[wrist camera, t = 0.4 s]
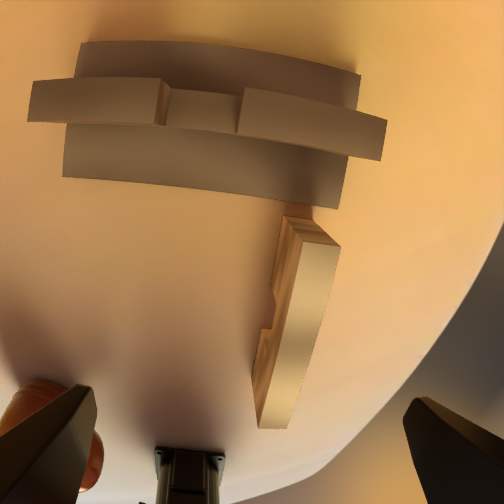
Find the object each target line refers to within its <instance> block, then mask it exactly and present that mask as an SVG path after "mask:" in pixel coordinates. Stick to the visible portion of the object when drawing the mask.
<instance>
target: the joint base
mask: <svg viewBox="0 0 504 504" xmlns="http://www.w3.org/2000/svg"><path fill="white" fill-rule="evenodd" d="M360 80H361V75H358V74H355V73H352V72H348V71H345V70H341V69H338V68H334V67H331V66H327V65H323V64H319V63H315V62H311V61H306V60H302V59H298V58H293V57H288V56H283V55H278V54H273V53H268V52H262V51H256V50H249V49H243V48H236V47H228V46H220V45H210V44H200V43H187V42H169V41H105V42H88V43H81V46H80V51H79V55H78V60H77V64H76V69H75V75H74V78H68V79H53V80H42V81H33V85H32V91H31V98H30V104H29V112H28V120H27V122H53V123H67V127H66V136H65V147H64V159H63V175H62V177H73V178H87V179H101V180H113V181H125V182H136V183H146V184H156V185H166V186H175V187H184V188H193V189H201V190H210V191H218V192H225V193H233V194H241V195H248V196H255V197H262V198H269V199H276V200H282V201H289V202H295V203H302V204H308V205H314V206H320V207H326V208H332V209H338V207H339V202H340V197H341V192H342V187H343V182H344V177H345V172H346V167H347V161H348V156H352V157H358V158H364V159H370V160H376V161H381V156H382V150H383V145H384V139H385V133H386V126H387V120H385V119H382V118H379V117H376V116H372V115H369V114H366V113H362V112H359V111H356V108H357V101H358V94H359V87H360Z"/></svg>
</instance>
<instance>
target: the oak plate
mask: <svg viewBox="0 0 504 504" xmlns="http://www.w3.org/2000/svg"><path fill="white" fill-rule="evenodd" d="M340 250H341V246H340V245H339V244H337V243H336V242H335V241H334V240H333V239H332V238H331V237H330V236H329V235H328V234H327V233H326V232H325V231H324V230H323V229H322V228H321V227H320V226H319V225H317V224H316V223H315V222H314V221H313V220H309V219H302V218H295V217H288V216H283V220H282V226H281V231H280V237H279V242H278V247H277V253H276V258H275V263H274V268H273V274H272V279H271V284H270V286H271V289H272V292H273V295H274V298H275V302H276V310H275V315H274V319H273V324H272V329H261V334H260V339H259V344H258V349H257V354H256V358H255V363H254V368H253V373H252V377H251V379H252V386H253V394H254V402H255V410H256V417H257V425H258V429H287V426H288V423H289V420H290V418H291V415H292V412H293V409H294V406H295V403H296V400H297V398H298V395H299V392H300V389H301V386H302V383H303V380H304V377H305V374H306V371H307V367H308V364H309V361H310V358H311V355H312V352H313V348H314V345H315V342H316V338H317V335H318V332H319V328H320V325H321V321H322V318H323V314H324V311H325V307H326V304H327V300H328V296H329V293H330V289H331V285H332V281H333V278H334V274H335V270H336V266H337V262H338V258H339V254H340Z"/></svg>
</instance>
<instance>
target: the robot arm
mask: <svg viewBox="0 0 504 504" xmlns="http://www.w3.org/2000/svg"><path fill="white" fill-rule="evenodd" d="M96 418H97V406H96V402H95V397H94V392H93V389H92V387H90V386H87V385H82V384H76V385H74V386H73V387H72V388H70V389H69V390H67V391H66V392H64V393H63V394H61V395H60V396H58V397H57V398H56V399H54V400H53V401H51V402H50V403H48V404H47V405H45V406H44V407H42V408H41V409H39V410H38V411H37V412H35V413H34V414H32V415H31V416H29V417H28V418H26V419H25V420H23V421H22V422H20V423H19V424H17V425H16V426H14V427H13V428H12V429H10V430H9V431H7V432H6V433H4V434H3V435H1V436H0V504H76V500H77V497H78V493H79V490H80V486H81V483H82V480H83V476H84V473H85V470H86V466H87V463H88V458H89V453H90V447H91V442H92V437H93V432H94V427H95V422H96ZM403 426H404V430H405V433H406V437H407V440H408V444H409V448H410V452H411V456H412V460H413V463H414V466H415V469H416V471H417V474H418V477H419V480H420V483H421V485H422V488H423V491H424V494H425V497H426V500H427V503H428V504H504V440H503V439H502V438H500V437H498V436H496V435H494V434H492V433H491V432H488V431H487V430H485V429H483V428H481V427H480V426H478V425H476V424H474V423H472V422H471V421H469V420H467V419H465V418H464V417H462V416H460V415H458V414H456V413H455V412H453V411H451V410H449V409H447V408H446V407H444V406H442V405H441V404H439V403H437V402H435V401H434V400H432V399H430V398H429V397H427V396H422V397H416V398H414V399H413V400H412V401H411V403H410V405H409V407H408V409H407V411H406V413H405V414H404V416H403ZM154 453H155V463H156V472H157V480H158V487H157V496H156V504H219V487H220V485H221V480H222V475H223V470H224V465H225V455H224V454H222V453H211V452H199V451H188V450H179V449H171V448H164V447H156V448H155V452H154ZM139 504H145V503H143V502H139Z"/></svg>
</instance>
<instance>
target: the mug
mask: <svg viewBox="0 0 504 504" xmlns="http://www.w3.org/2000/svg"><path fill="white" fill-rule="evenodd" d="M66 391H67V390H66V389H64V388H63V387H61V386H59V385H57V384H55V383H52V382H49V381H45V380H31V381H28V382H27V383H25V384H24V386H22V387H21V388H20V389H19V390H18V392H16V393H15V394H14V395H13V397H12V400H11V402H10V403H9V405H8V406H7V408H6V410H5V412H4V413H3V415H2V417H1V419H0V436H1V435H3V434H4V433H6V432H7V431H9V430H10V429H12V428H13V427H14V426H16V425H17V424H19V423H20V422H22V421H23V420H25V419H26V418H28V417H29V416H31V415H32V414H34V413H35V412H37V411H38V410H39V409H41V408H42V407H44V406H45V405H47V404H48V403H50V402H51V401H53V400H54V399H56V398H57V397H58V396H60V395H61V394H63V393H64V392H66ZM103 462H104V447H103V442H102V440H101V438H100V436H99V434H98V433H97V432H96V431H95V430H94V432H93V437H92V442H91V447H90V453H89V458H88V463H87V466H86V470H85V473H84V476H83V480H82V483H81V486H80V490H79V493H81V492H85V491H87V490H89V489H90V488H92V487H93V486H94V485H95V484H96V482H97V481H98V479H99V477H100V474H101V471H102V467H103Z"/></svg>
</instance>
